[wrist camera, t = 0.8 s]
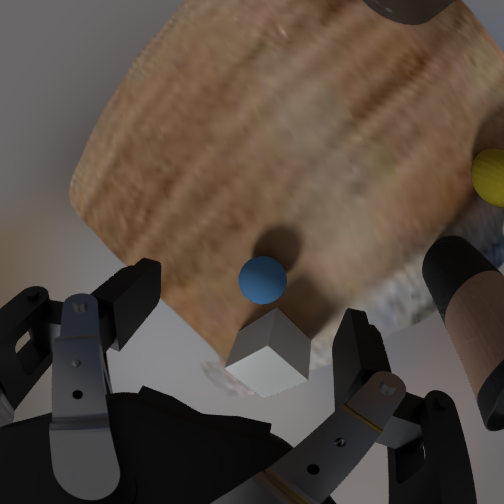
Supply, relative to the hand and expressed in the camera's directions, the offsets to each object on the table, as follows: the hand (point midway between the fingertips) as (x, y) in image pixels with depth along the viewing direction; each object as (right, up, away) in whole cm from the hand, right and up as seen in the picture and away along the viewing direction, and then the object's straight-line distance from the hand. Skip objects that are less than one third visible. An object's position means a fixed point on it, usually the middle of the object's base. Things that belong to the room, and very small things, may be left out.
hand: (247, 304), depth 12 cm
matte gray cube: (+3, -9, +25) cm, 26 cm away
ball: (+1, -1, +18) cm, 18 cm away
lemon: (+24, +11, +11) cm, 29 cm away
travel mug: (+23, +1, +16) cm, 28 cm away
